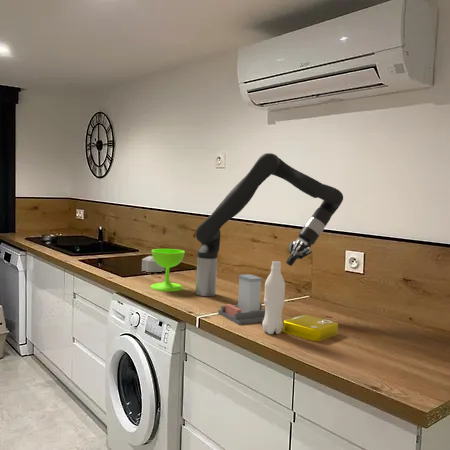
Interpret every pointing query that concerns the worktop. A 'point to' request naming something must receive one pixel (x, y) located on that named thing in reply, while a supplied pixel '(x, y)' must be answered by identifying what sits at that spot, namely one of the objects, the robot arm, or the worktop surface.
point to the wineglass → (167, 267)
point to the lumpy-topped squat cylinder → (151, 265)
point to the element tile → (310, 327)
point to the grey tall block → (249, 293)
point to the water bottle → (274, 300)
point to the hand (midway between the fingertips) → (288, 264)
